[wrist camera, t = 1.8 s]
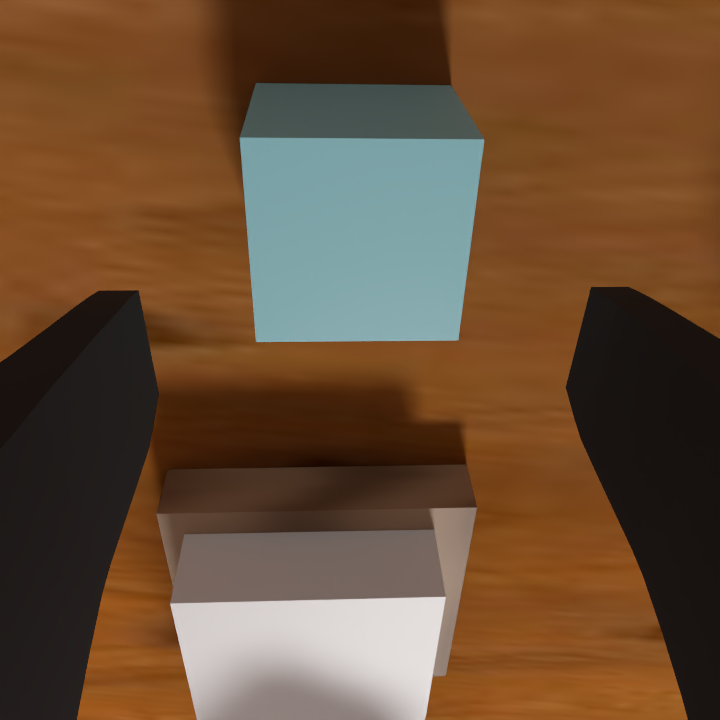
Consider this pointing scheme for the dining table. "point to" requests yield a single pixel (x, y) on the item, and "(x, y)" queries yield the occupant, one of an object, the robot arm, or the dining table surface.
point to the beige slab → (329, 511)
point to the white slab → (309, 624)
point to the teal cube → (358, 210)
